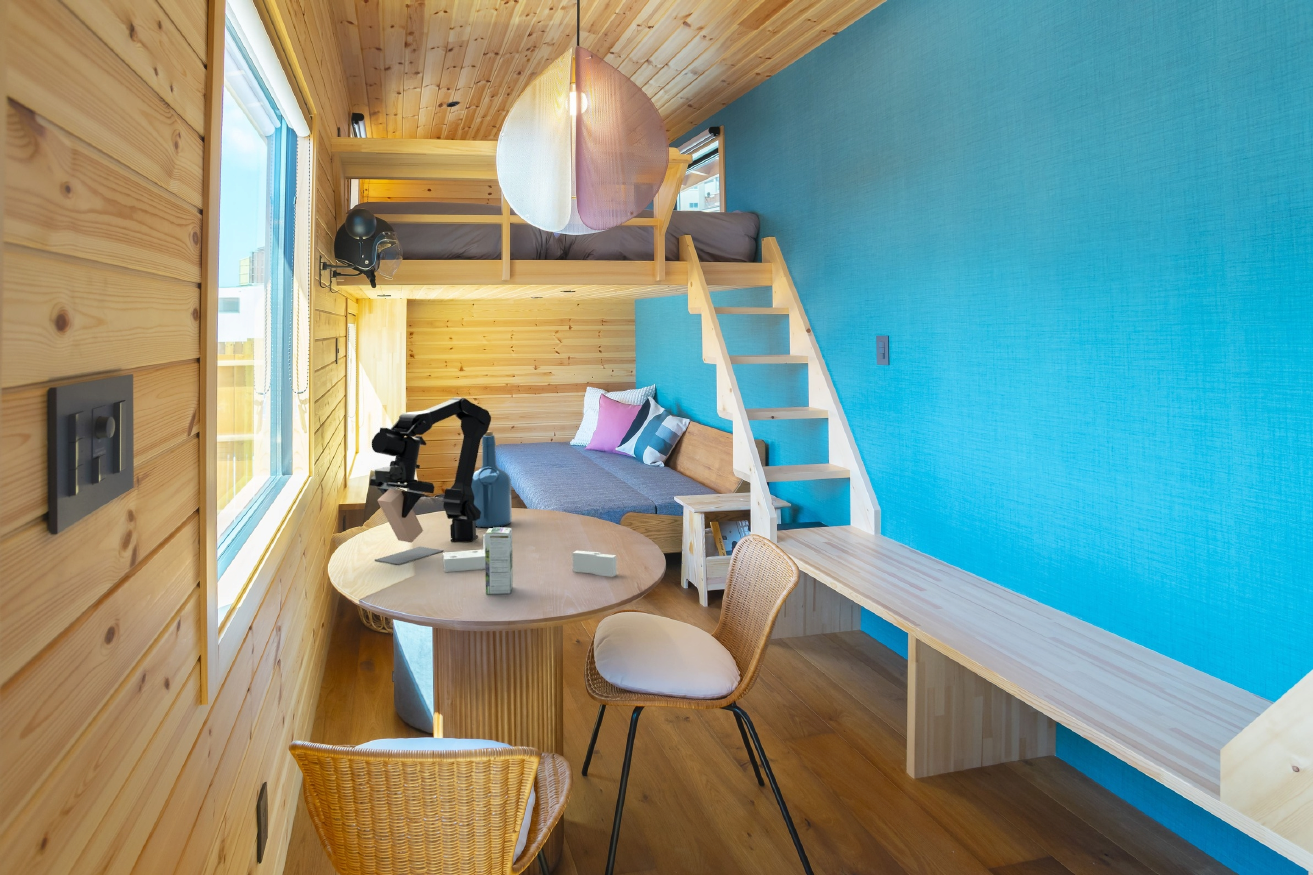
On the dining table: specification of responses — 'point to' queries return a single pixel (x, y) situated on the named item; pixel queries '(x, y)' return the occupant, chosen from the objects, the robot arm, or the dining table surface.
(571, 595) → the dining table surface
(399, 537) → the terracotta block
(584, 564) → the white stepped block
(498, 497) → the blue bottle
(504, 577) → the syrup box
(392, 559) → the mat
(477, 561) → the bracket
